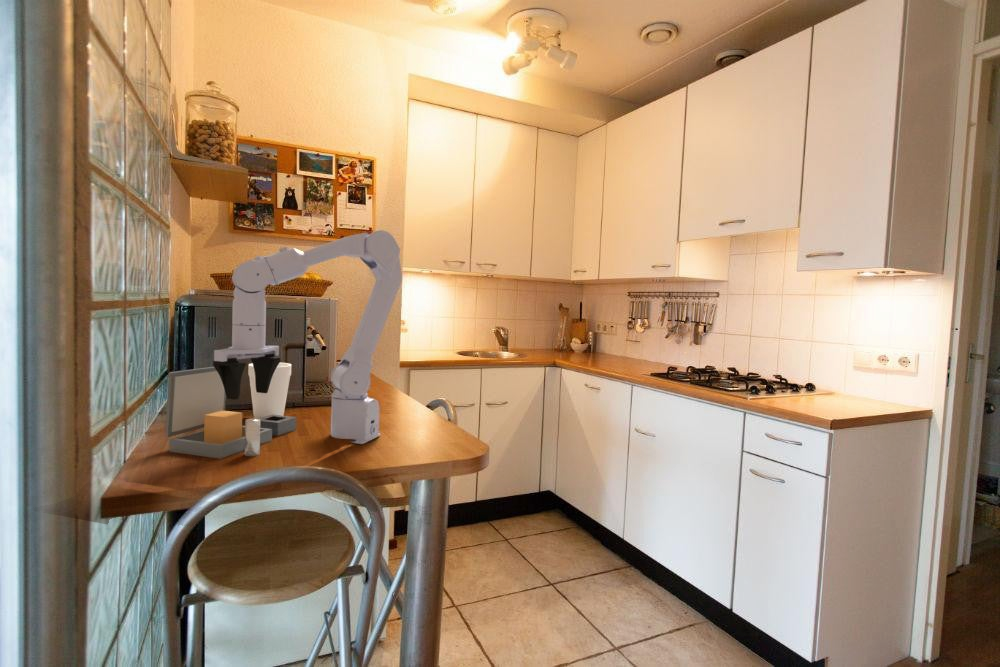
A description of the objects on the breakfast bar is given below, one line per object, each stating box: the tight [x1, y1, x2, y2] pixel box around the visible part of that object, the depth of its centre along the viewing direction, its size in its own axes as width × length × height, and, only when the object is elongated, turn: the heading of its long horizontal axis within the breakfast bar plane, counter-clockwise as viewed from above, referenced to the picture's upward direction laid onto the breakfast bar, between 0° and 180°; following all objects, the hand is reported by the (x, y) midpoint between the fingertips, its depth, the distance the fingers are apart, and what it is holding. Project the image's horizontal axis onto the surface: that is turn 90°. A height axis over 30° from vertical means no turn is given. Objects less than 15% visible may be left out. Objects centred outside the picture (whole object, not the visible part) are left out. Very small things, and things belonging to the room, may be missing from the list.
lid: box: [164, 366, 227, 438], centre depth 95 cm, size 12×13×1 cm
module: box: [203, 410, 243, 444], centre depth 94 cm, size 4×4×6 cm
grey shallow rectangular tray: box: [168, 425, 273, 460], centre depth 94 cm, size 11×13×3 cm
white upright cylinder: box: [244, 417, 261, 457], centre depth 90 cm, size 2×2×7 cm
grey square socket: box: [259, 415, 297, 437], centre depth 106 cm, size 6×6×4 cm
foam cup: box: [247, 362, 292, 419], centre depth 120 cm, size 10×9×13 cm
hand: (247, 395), depth 96 cm, fingers open, 7 cm apart
